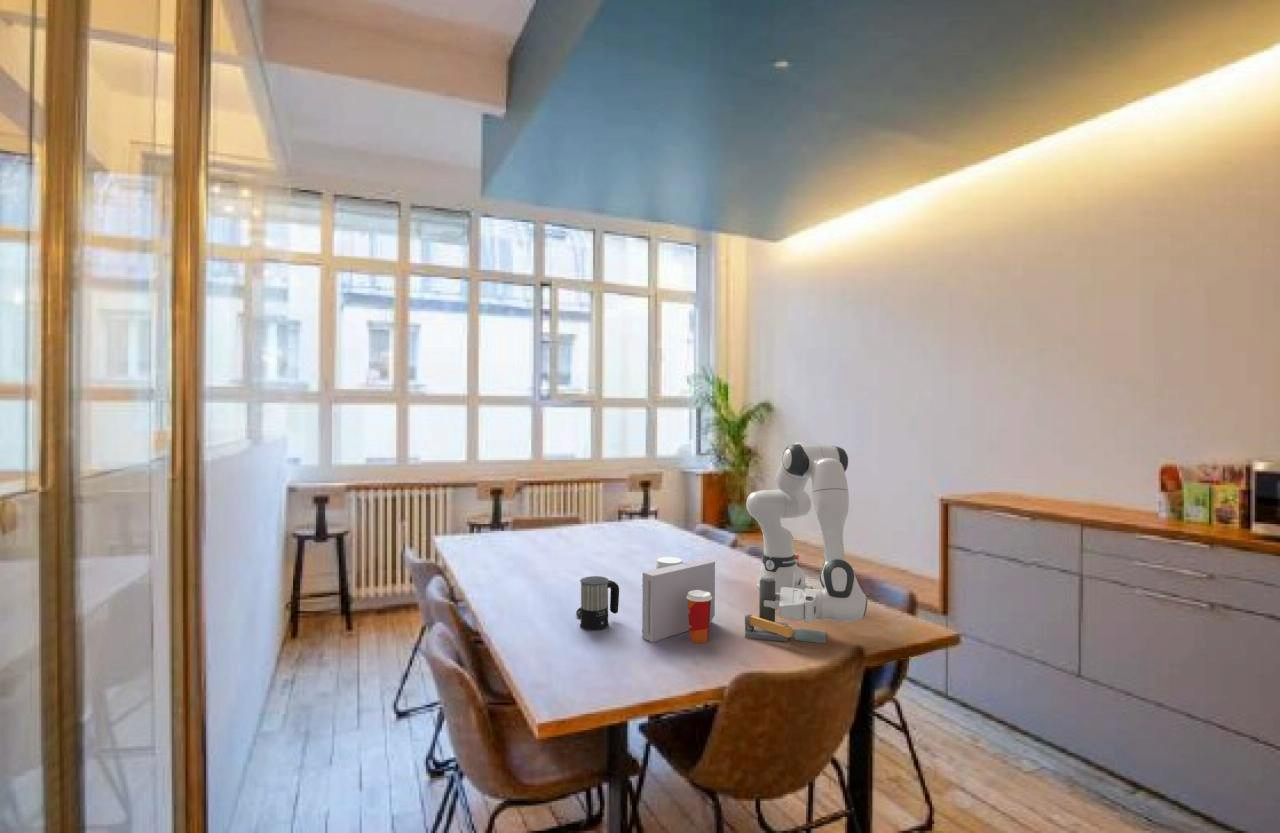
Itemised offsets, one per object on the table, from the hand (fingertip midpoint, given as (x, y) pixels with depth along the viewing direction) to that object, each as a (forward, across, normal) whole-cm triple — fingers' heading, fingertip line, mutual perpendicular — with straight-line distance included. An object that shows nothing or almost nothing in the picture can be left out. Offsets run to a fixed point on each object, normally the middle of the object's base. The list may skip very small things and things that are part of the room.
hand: (764, 599), depth 187 cm
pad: (-14, 0, +10) cm, 17 cm away
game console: (+26, +5, +10) cm, 29 cm away
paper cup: (+19, +12, +10) cm, 24 cm away
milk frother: (+55, +6, +10) cm, 56 cm away
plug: (-1, 0, +10) cm, 10 cm away
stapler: (-1, +7, +7) cm, 10 cm away
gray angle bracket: (-1, 0, +10) cm, 10 cm away
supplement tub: (+35, -23, +10) cm, 43 cm away
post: (+5, +3, +10) cm, 12 cm away
